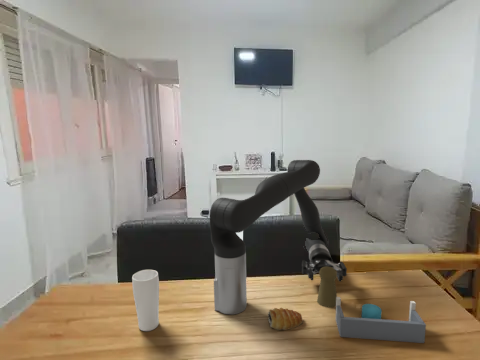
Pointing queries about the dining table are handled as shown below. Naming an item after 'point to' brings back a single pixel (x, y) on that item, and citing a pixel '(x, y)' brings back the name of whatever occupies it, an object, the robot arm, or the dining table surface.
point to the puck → (371, 311)
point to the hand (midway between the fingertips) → (326, 278)
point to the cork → (327, 287)
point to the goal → (381, 327)
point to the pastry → (284, 318)
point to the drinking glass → (146, 298)
